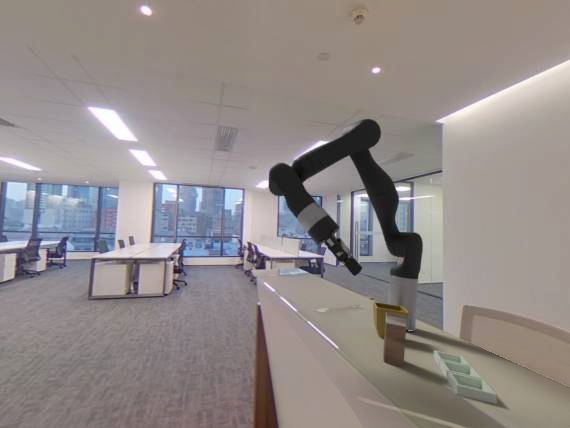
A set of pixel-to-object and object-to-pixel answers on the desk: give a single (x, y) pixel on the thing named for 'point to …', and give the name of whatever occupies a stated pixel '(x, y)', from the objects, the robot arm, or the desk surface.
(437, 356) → the tray
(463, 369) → the tray
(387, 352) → the brown wooden block
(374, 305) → the flower pot
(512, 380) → the desk surface
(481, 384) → the tray
